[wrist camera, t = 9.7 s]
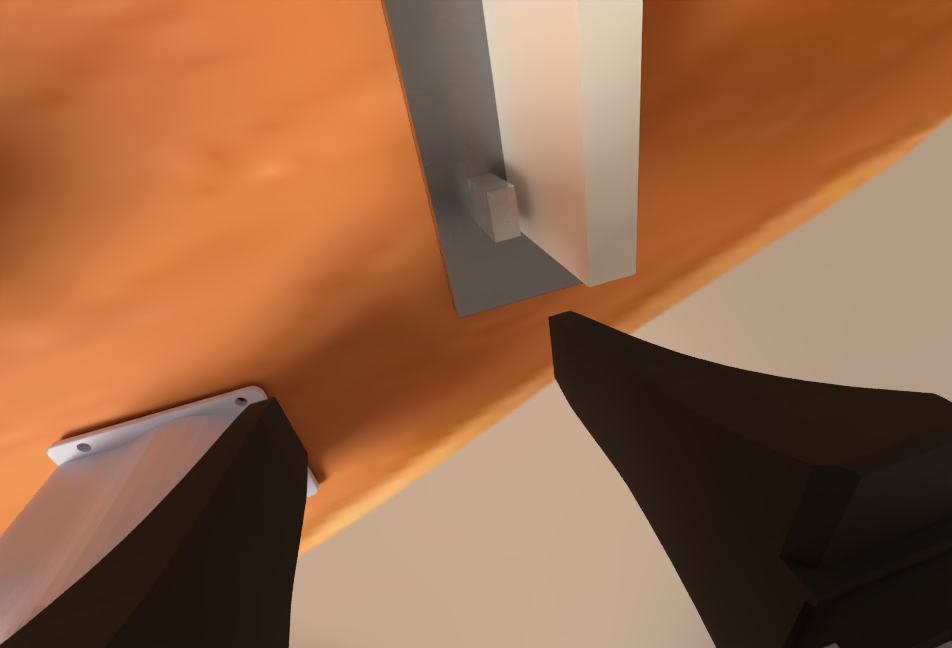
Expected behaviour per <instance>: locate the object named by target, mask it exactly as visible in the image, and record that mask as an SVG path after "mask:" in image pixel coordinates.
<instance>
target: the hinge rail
mask: <svg viewBox="0 0 952 648" xmlns="http://www.w3.org/2000/svg"><path fill="white" fill-rule="evenodd" d="M381 4H382V8H383V12H384V16H385V20H386V25H387V29H388V33H389V37H390V41H391V46H392V50H393V54H394V58H395V62H396V67H397V71H398V75H399V79H400V83H401V88H402V92H403V96H404V100H405V104H406V109H407V113H408V117H409V121H410V125H411V130H412V134H413V138H414V142H415V146H416V151H417V155H418V159H419V163H420V167H421V172H422V176H423V180H424V184H425V188H426V193H427V197H428V201H429V205H430V209H431V214H432V218H433V222H434V226H435V230H436V235H437V239H438V243H439V247H440V251H441V256H442V260H443V264H444V268H445V272H446V277H447V281H448V285H449V289H450V293H451V298H452V302H453V306H454V309H455V311H456V313H457V316H458V318H462V317H465V316H469V315H472V314H476V313H479V312H483V311H486V310H490V309H493V308H497V307H500V306H504V305H507V304H511V303H514V302H518V301H521V300H525V299H529V298H532V297H536V296H539V295H543V294H546V293H550V292H553V291H557V290H560V289H564V288H567V287H571V286H574V285H578V284H581V283H583V282H582V281H580V280H579V279H578V278H577V277H576V276H574V275H573V274H572V273H571V272H570V271H568V270H567V269H566V268H565V267H563V266H562V265H561V264H560V263H559V262H557V261H556V260H555V259H554V258H553V257H551V256H550V255H549V254H548V253H546V252H545V251H544V250H543V249H542V248H540V247H539V246H538V245H537V244H535V243H534V242H533V241H532V240H531V239H529V238H528V237H527V236H526V235H525V234H523V233H522V232H521V231H520V223H519V215H518V207H517V199H516V191H515V186H514V185H512V184H510V183H508V182H507V178H506V171H505V164H504V156H503V149H502V142H501V134H500V127H499V120H498V113H497V105H496V98H495V91H494V84H493V76H492V69H491V62H490V54H489V47H488V40H487V33H486V25H485V18H484V11H483V4H482V0H381Z"/></svg>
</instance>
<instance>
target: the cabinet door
mask: <svg viewBox="0 0 952 648" xmlns="http://www.w3.org/2000/svg"><path fill="white" fill-rule="evenodd" d="M482 4H483V11H484V18H485V25H486V33H487V40H488V47H489V54H490V62H491V69H492V76H493V84H494V91H495V98H496V105H497V113H498V120H499V127H500V134H501V142H502V149H503V156H504V164H505V171H506V178H507V182H508V183H510V184H512V185H514V186H515V191H516V199H517V207H518V215H519V223H520V231H521V232H522V233H523V234H525V235H526V236H527V237H528V238H529V239H531V240H532V241H533V242H534V243H535V244H537V245H538V246H539V247H540V248H542V249H543V250H544V251H545V252H546V253H548V254H549V255H550V256H551V257H553V258H554V259H555V260H556V261H557V262H559V263H560V264H561V265H562V266H563V267H565V268H566V269H567V270H568V271H570V272H571V273H572V274H573V275H574V276H576V277H577V278H578V279H579V280H580V281H582V282H583V283H584V284H585V285H587V286H588V287H589V288H590V287H593V286H597V285H600V284H604V283H607V282H610V281H614V280H617V279H621V278H624V277H628V276H631V275H635V274H636V243H637V204H638V165H639V127H640V88H641V49H642V11H643V0H482Z"/></svg>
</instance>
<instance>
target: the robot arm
mask: <svg viewBox="0 0 952 648" xmlns="http://www.w3.org/2000/svg"><path fill="white" fill-rule="evenodd" d="M549 326H550V336H551V346H552V356H553V366H554V376H555V379H556V380H557V382H558V384H559V386H560V388H561V390H562V392H563V394H564V395H565V397H566V399H567V401H568V402H569V404H570V406H571V407H572V409H573V410H574V412H575V413H576V415H577V416H578V417H579V419H580V420H581V422H582V423H583V424H584V426H585V427H586V428H587V430H588V431H589V433H590V434H591V435H592V437H593V438H594V439H595V441H596V442H597V444H598V445H599V446H600V447H601V449H602V450H603V452H604V453H605V454H606V456H607V457H608V458H609V460H610V461H611V462H612V464H613V465H614V467H615V468H616V469H617V471H618V472H619V473H620V475H621V477H622V478H623V480H624V481H625V483H626V484H627V486H628V487H629V489H630V491H631V492H632V494H633V496H634V497H635V499H636V501H637V502H638V504H639V506H640V508H641V509H642V511H643V513H644V514H645V516H646V518H647V519H648V521H649V523H650V525H651V526H652V528H653V530H654V532H655V534H656V535H657V537H658V539H659V541H660V542H661V544H662V546H663V547H664V550H665V551H666V553H667V555H668V557H669V558H670V560H671V562H672V564H673V566H674V568H675V569H676V571H677V573H678V575H679V577H680V579H681V581H682V582H683V584H684V586H685V588H686V590H687V592H688V593H689V596H690V597H691V599H692V601H693V603H694V605H695V607H696V609H697V611H698V613H699V615H700V617H701V619H702V621H703V623H704V625H705V627H706V629H707V630H708V632H709V634H710V636H711V638H712V640H713V642H714V644H715V646H716V648H952V402H950V401H948V400H947V399H945V398H943V397H941V396H939V395H936V394H933V393H921V392H909V391H897V390H884V389H873V388H860V387H850V386H842V385H834V384H826V383H819V382H811V381H804V380H798V379H792V378H785V377H778V376H773V375H769V374H763V373H759V372H753V371H748V370H743V369H739V368H734V367H729V366H726V365H722V364H718V363H714V362H710V361H706V360H703V359H698V358H695V357H692V356H688V355H685V354H681V353H678V352H675V351H672V350H669V349H667V348H663V347H661V346H658V345H655V344H652V343H649V342H647V341H644V340H641V339H638V338H636V337H633V336H631V335H628V334H626V333H623V332H621V331H618V330H616V329H614V328H611V327H609V326H606V325H604V324H602V323H599V322H597V321H595V320H592V319H590V318H587V317H585V316H582V315H580V314H577V313H575V312H572V311H568V312H564V313H561V314H557V315H554V316H550V317H549ZM238 398H245V399H246V401H240V400H239V399H238ZM83 443H85V444H88V445H85V444H83ZM89 445H90V446H89ZM47 455H48V456H49V457H50V458H51V459H52V460H53V461H54V462H55V463H56V464H57V465H58V468H57V469H56V470H55V471H54V472H53V474H52V475H51V476H50V477H49V478H48V480H47V481H46V482H45V483H44V484H43V486H42V487H41V488H40V489H39V491H38V492H37V493H36V494H35V495H34V497H33V498H32V499H31V500H30V501H29V503H28V504H27V505H26V506H25V507H24V509H23V510H22V511H21V512H20V514H19V515H18V516H17V517H16V518H15V520H14V521H13V522H12V523H11V524H10V526H9V527H8V528H7V529H6V530H5V532H4V533H3V534H2V535H1V537H0V648H289V632H290V613H291V600H292V591H293V583H294V576H295V570H296V563H297V557H298V550H299V544H300V538H301V531H302V525H303V518H304V511H305V504H306V497H309V496H312V495H314V494H316V493H317V491H318V487H319V485H318V482H317V480H316V479H315V477H314V475H313V474H312V472H311V470H310V469H309V467H308V453H307V452H306V450H305V448H304V447H303V445H302V443H301V441H300V440H299V438H298V436H297V434H296V433H295V431H294V429H293V428H292V426H291V424H290V422H289V421H288V419H287V417H286V415H285V414H284V412H283V410H282V408H281V407H280V405H279V403H278V402H277V400H276V398H275V397H273V398H269V399H268V397H267V396H266V394H265V392H264V391H263V390H262V389H261V388H259V387H256V386H249V387H245V388H242V389H238V390H235V391H231V392H228V393H224V394H221V395H217V396H214V397H210V398H207V399H203V400H200V401H196V402H193V403H189V404H186V405H182V406H179V407H175V408H172V409H169V410H165V411H162V412H158V413H155V414H151V415H148V416H144V417H141V418H137V419H134V420H130V421H127V422H123V423H120V424H116V425H113V426H109V427H106V428H102V429H99V430H95V431H92V432H88V433H85V434H81V435H78V436H74V437H71V438H67V439H64V440H60V441H57V442H55V443H53V444H52V445H51V447H50V448H49V449H48V450H47Z"/></svg>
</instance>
